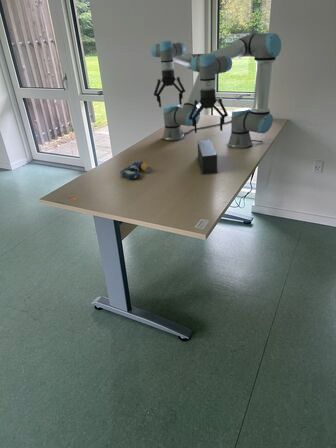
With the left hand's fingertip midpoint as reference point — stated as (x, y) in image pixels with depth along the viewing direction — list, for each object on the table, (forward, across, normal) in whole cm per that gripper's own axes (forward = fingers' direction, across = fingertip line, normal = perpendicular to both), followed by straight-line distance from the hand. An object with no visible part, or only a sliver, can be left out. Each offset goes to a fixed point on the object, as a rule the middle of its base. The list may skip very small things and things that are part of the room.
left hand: (170, 105), depth 215 cm
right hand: (+5, +8, -49) cm, 50 cm away
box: (+28, +10, -39) cm, 49 cm away
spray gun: (+28, -31, -35) cm, 54 cm away
